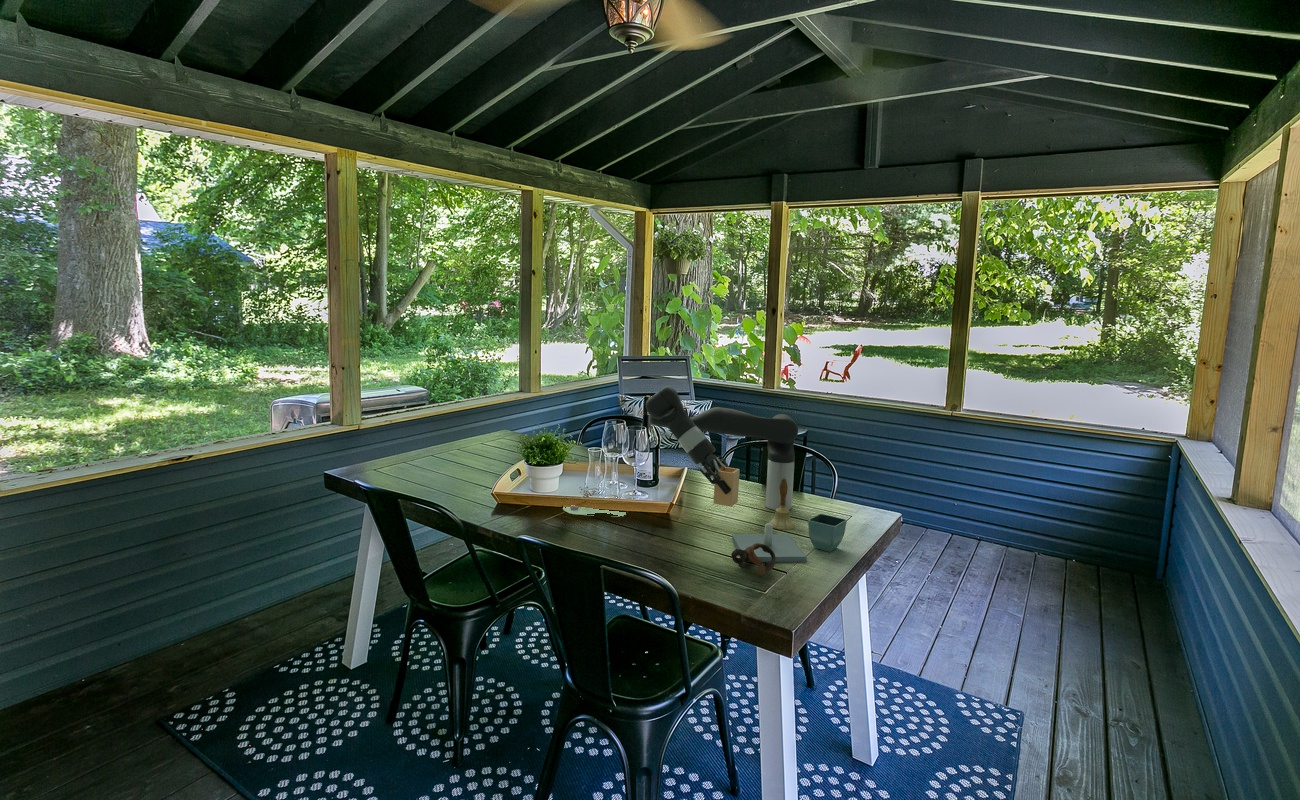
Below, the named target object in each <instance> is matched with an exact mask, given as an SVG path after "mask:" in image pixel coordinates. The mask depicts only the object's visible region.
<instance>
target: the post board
mask: <svg viewBox="0 0 1300 800" xmlns="http://www.w3.org/2000/svg"><path fill="white" fill-rule="evenodd" d="M763 531H764V533H743V534H741V533H739V534H737V533H735V534H734V533H732V534H731V540H732V542H733V544H734V543H735V544H734V545H736V546H735V547H737V548H736V549H741V550H745V549H746V548H748V547H750V546H752V545H754V544H756V543H760V544H764V545H766V546H768V547H770V548H771V549H772V550H773V552H774V553H775V556H776V559H775V563H783V562H784V563H785V562H787V563H788V562H789V563H793V562H795V563H799V562H800V563H801V562H807V559H808V557H807V555H806V553H805V552H804V551H803V550H802V548H801V547H800V545H799V544H798V543H797V542H796V541H795V540H794V538H793V536H791V534H790V533H773V531H774V528H773V526H772V524H770V522H767V523H765V525H764V530H763ZM754 553H755V554H756V556H757V557H758V558H759V559H761V560H762V562H761V563H765V562H766V561H767V562H768V561H771V560H772V558H771V555H770V553H767V552H764V551H763V549H762V548H758V549H756V550H754Z"/></svg>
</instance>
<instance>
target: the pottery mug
mask: <svg viewBox="0 0 1300 800" xmlns="http://www.w3.org/2000/svg"><path fill="white" fill-rule="evenodd" d="M758 548H762V549H763V551H764V552H767V553H770V555H771V558H772V560H771V561H768V562H767V561H766V562H764V564H763V562H762V560H761V559H759V558H758V557H757V556H756V554H755V553H754V550H756V549H758ZM737 556H738V557H737ZM731 559H732V561H733V562H734V563H735V564H737V566H738V567H739V568H741V569H742V568H743V564H744V563H752V564H754V565H755V566H756V567H758V570H757V571H756V575H757V576H760V577H762V576H764V575H765V574H767V573H769V572H770V571H771V570H773V568H775V565H776V562H775V559H776V556H775V553H774V552H773V550H772V549H771V548H770V547H768V546H766V545H764V544H760V543H756V544H754V545H752V546H750V547H748V548H746V549H745V550H741V549H737V548H736V549H734V550H733V551H732V552H731Z"/></svg>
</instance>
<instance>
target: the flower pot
mask: <svg viewBox="0 0 1300 800" xmlns="http://www.w3.org/2000/svg"><path fill="white" fill-rule="evenodd" d="M847 522H848V520H847V519H846V518H842V517H837V516H833V515H828V514H825V513H818V514H816V515H815V516H813V517H811V518H809V519H808V520H807V523H808V535H809V536H808V537H809V540H810V542H811V543H812V545H813V547H814V549H817V550H821V551H824V552H829V553H830V552H833V551H834V550H836V549H837V548H838V547H839V546H840V544H841V542H842V540H843V538H844V537H845V531H846V528H847Z"/></svg>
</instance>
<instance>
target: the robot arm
mask: <svg viewBox="0 0 1300 800" xmlns="http://www.w3.org/2000/svg"><path fill="white" fill-rule="evenodd" d="M645 408H646V409H645V410H646V411H647V413H648V414H649V416H650V418H649V422H650V424H651V425H653V426H655V427H660V428H668V430H669V431H670V432H671V433H672V435H673V436H674V437H675V439H676V440H677V441H678V442H679V444H680V445H681V447H682V449H684V451H685V452H686V453H687V455H688V456H689V458H690V459H691V460H692V462H693V463H694V464H695V465H699V464H701V466H702V467H701V468H699V472H700V473H701V474H702V475H703V476H704V478H706V479H707V480H708V482H709V483H710V484H711V485H714V484H716V485H718V486H719V487H720V488H721V490H722V491H723V492H724V493H725V494H728V493H729V492H730V491H731V488H730V487H729V486H728V485H727V483H726V482H725V481H724V480H723V478H722V477H721V475H720V474H719V473H720V472H719V471H720V468H721V467H723V471H724V470H725V469H726V468H725V467H729V468H731V467H730V466H729V465H728V463H727V461H726V460H725V459H724V458H723V456H722V455H720V456H718V457H717V455H715V454H714V453H715V452H716V448H715V446H714V445H713V444H712V442H711V441H710V439H708V438H707V436H706V434H704V432H706V433H707V432H708V433H712V434H719V435H726V436H736V437H737V436H738V437H747V438H750V437H751V438H759V439H764V440H767V469H766V470H767V473H766V476H767V477H766V490H765V491H766V493H765V507H767V508H768V509H770V510H773V511H776V509H777V508H780V503H781V495H780V483H781V481H782V478H785V479H786V482H787V485H788V491H787V495H786V508H787V509H789V510H792V507H793V495H794V494H793V492H794V491H793V489H794V473H795V458H796V454H795V449H794V448H795V447H794V445H795V444H794V442H795V440H796V438H797V437H798V435H799V428H798V425H797V423H796V422H795V420H794V419H793V418H792V417H790V416H789V415H788V414H784V413H779V414H776V415H774V416H773V417H763V416H757V415H754V414H751V413H748V412H744V411H742V410H738V409H734V408H727V407H719V406H715V407H711V408H709V409H707V410H706V409H705V411H703V412H701V413H698V414H696V415H693V416H691V417H690V416H689V415H688V413H687V411H686V410H685V408H684V405H683V404H682V401H681V398H680V395H679V393H678V392H677V391H676V389H675V388H674V387H671V386H668V385H666V386H663V387H662V388H661V389H660V390H658V391H657V392H655V394H653V395H652V396H650V397H649V398H648V399H647V400H646V402H645ZM715 470H716V472H715ZM722 480H723V481H722Z"/></svg>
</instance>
